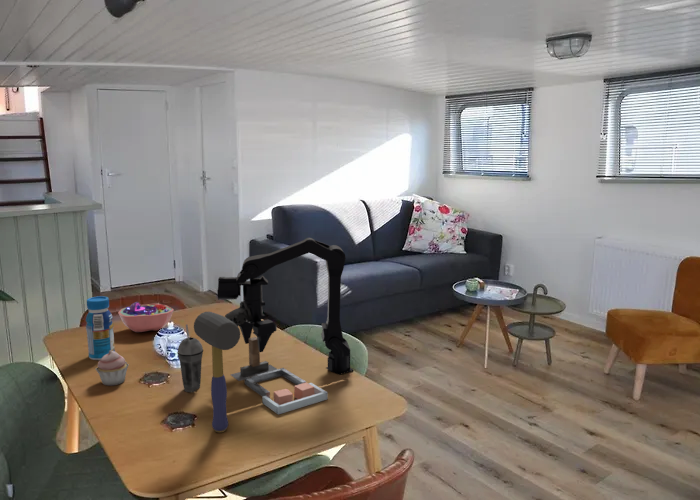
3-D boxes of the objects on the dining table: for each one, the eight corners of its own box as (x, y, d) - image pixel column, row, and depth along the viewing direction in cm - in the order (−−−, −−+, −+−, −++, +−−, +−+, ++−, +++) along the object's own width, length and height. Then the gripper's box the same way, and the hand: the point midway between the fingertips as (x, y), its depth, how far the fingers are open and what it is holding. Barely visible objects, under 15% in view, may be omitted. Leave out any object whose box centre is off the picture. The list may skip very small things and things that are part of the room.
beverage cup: (209, 385, 174) (207, 321, 171) (195, 395, 168) (192, 328, 164) (188, 382, 177) (185, 318, 173) (174, 392, 170) (170, 325, 166)
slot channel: (283, 375, 183) (283, 367, 182) (306, 389, 172) (306, 381, 172) (244, 385, 175) (244, 377, 174) (266, 401, 164) (265, 392, 164)
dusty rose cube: (287, 400, 166) (287, 388, 165) (292, 405, 162) (292, 394, 161) (274, 403, 164) (273, 391, 163) (279, 409, 160) (278, 396, 160)
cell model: (166, 338, 216) (164, 308, 214) (111, 337, 216) (109, 308, 214) (179, 324, 233) (178, 296, 230) (129, 323, 233) (127, 296, 231)
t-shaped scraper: (265, 368, 187) (264, 334, 185) (269, 370, 185) (268, 336, 183) (239, 374, 181) (238, 340, 179) (243, 377, 179) (242, 342, 177)
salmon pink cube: (305, 393, 170) (305, 382, 169) (314, 398, 167) (314, 386, 166) (294, 397, 167) (294, 385, 167) (302, 402, 164) (302, 390, 164)
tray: (311, 388, 173) (311, 382, 172) (327, 399, 166) (327, 392, 166) (262, 403, 163) (262, 396, 163) (278, 414, 157) (277, 407, 156)
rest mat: (270, 366, 190) (270, 364, 190) (279, 372, 185) (279, 370, 185) (230, 376, 182) (230, 374, 181) (238, 382, 177) (238, 380, 177)
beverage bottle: (82, 358, 195) (77, 300, 192) (101, 350, 203) (97, 294, 199) (102, 362, 192) (97, 303, 189) (121, 353, 200) (117, 296, 196)
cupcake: (96, 378, 180) (94, 347, 178) (129, 374, 183) (127, 343, 181) (96, 390, 171) (93, 357, 169) (130, 385, 175) (128, 353, 173)
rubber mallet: (195, 425, 150) (190, 312, 145) (222, 417, 155) (218, 307, 149) (218, 445, 141) (213, 324, 135) (246, 435, 146) (242, 318, 140)
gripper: (214, 296, 181) (216, 344, 184) (242, 310, 167) (244, 362, 170) (247, 290, 188) (248, 337, 191) (277, 303, 173) (277, 354, 176)
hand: (253, 347), depth 182 cm, fingers open, 9 cm apart
